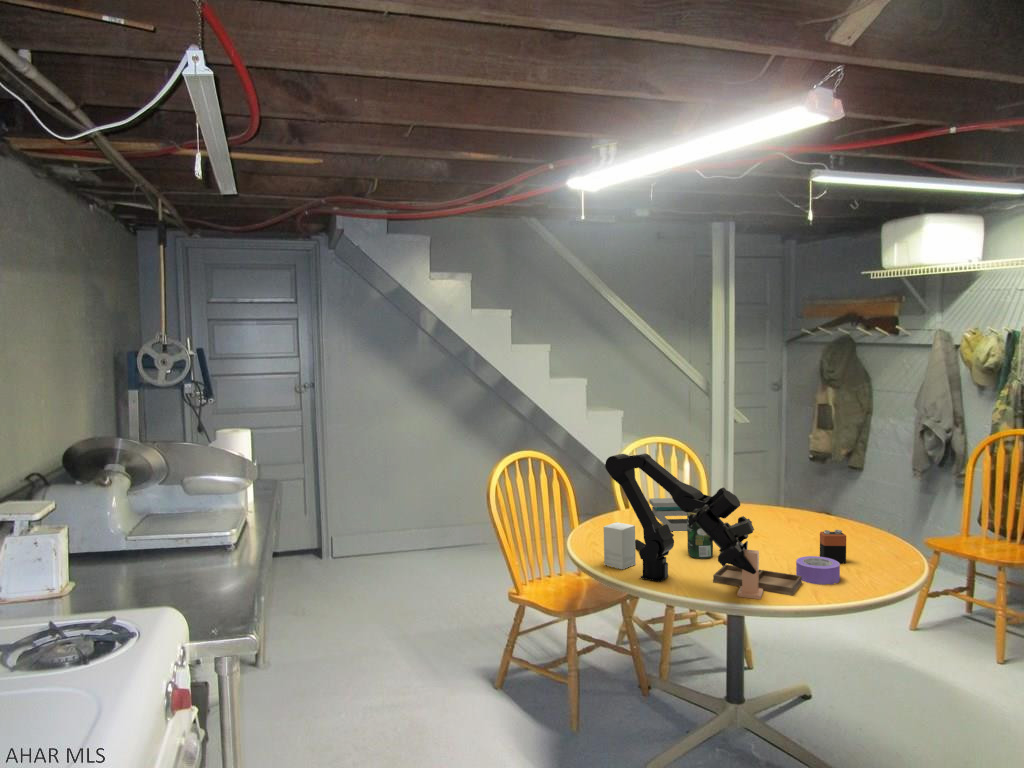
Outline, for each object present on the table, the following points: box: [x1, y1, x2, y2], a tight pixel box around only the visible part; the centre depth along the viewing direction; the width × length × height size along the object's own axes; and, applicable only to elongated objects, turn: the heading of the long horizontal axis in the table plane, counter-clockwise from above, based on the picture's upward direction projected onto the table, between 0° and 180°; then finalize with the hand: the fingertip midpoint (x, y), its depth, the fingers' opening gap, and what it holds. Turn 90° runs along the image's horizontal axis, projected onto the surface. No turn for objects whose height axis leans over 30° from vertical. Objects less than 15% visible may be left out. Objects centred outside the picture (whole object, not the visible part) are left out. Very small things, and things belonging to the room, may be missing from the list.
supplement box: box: [603, 521, 637, 570], centre depth 225 cm, size 7×7×13 cm
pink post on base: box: [737, 549, 764, 600], centre depth 197 cm, size 6×6×12 cm
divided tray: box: [712, 564, 803, 596], centre depth 206 cm, size 22×12×2 cm, turn 57°
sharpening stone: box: [648, 497, 687, 532], centre depth 268 cm, size 25×8×11 cm, turn 90°
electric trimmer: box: [635, 538, 646, 552], centre depth 238 cm, size 4×16×3 cm, turn 13°
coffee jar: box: [686, 505, 714, 560], centre depth 234 cm, size 10×8×19 cm
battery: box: [819, 529, 847, 564], centre depth 225 cm, size 4×7×10 cm, turn 85°
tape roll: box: [795, 555, 841, 586], centre depth 210 cm, size 12×12×5 cm
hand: (755, 571), depth 196 cm, fingers closed on pink post on base, 3 cm apart
